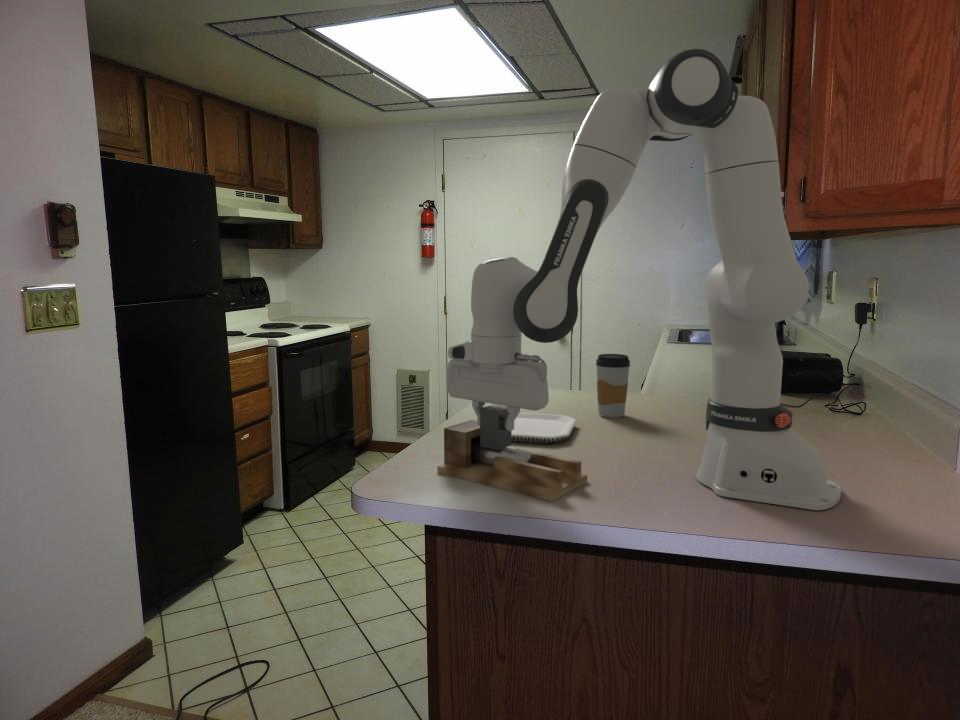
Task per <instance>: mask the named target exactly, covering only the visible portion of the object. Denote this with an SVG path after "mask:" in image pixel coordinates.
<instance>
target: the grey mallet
mask: <svg viewBox="0 0 960 720" xmlns="http://www.w3.org/2000/svg"><path fill="white" fill-rule="evenodd" d="M509 413H510V412H507V406H503V405H497V404H491V405H487V406H483V408H480V442H478V441H473V440H471V460H472V461H476V462H481V463H485V464H489V465H494V458H495V457H498V456H499V457H503V458H508V459H512V460H517V461H521V462H526V463H530V464H534V456H533V454H532V453H530V452H525V451H520V450H516V449H517V448H516V449H515V448H509V447H511V446H512V441H511V431H506V430H503V429H502V426H503V425H502V420H506V419H507V417H508V415H509Z"/></svg>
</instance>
